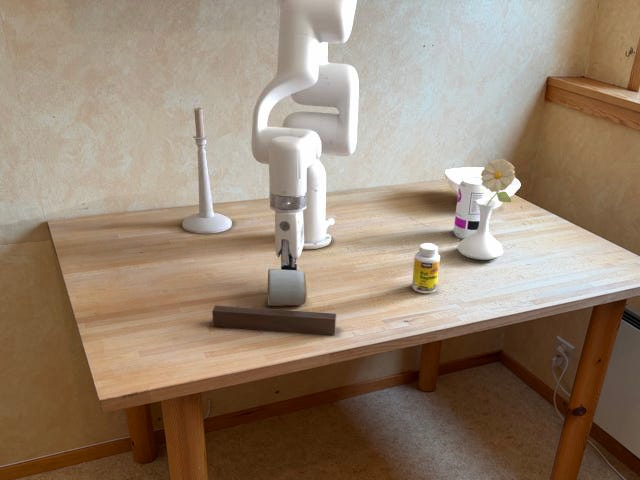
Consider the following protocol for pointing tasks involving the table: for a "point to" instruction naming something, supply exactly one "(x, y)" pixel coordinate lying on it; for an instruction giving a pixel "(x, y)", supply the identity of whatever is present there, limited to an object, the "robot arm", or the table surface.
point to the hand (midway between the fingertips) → (289, 281)
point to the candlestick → (204, 190)
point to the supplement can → (468, 206)
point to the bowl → (458, 174)
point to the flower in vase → (488, 211)
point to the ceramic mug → (286, 287)
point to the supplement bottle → (426, 268)
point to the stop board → (274, 320)
